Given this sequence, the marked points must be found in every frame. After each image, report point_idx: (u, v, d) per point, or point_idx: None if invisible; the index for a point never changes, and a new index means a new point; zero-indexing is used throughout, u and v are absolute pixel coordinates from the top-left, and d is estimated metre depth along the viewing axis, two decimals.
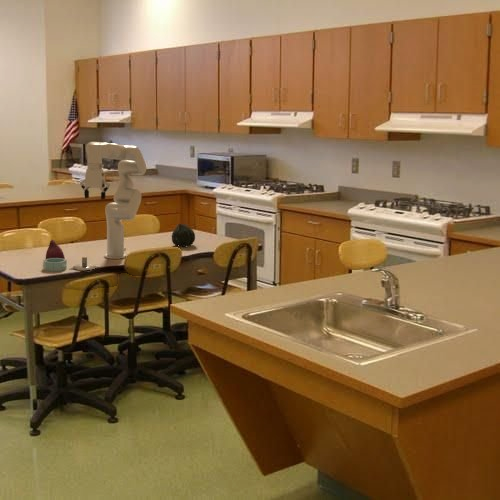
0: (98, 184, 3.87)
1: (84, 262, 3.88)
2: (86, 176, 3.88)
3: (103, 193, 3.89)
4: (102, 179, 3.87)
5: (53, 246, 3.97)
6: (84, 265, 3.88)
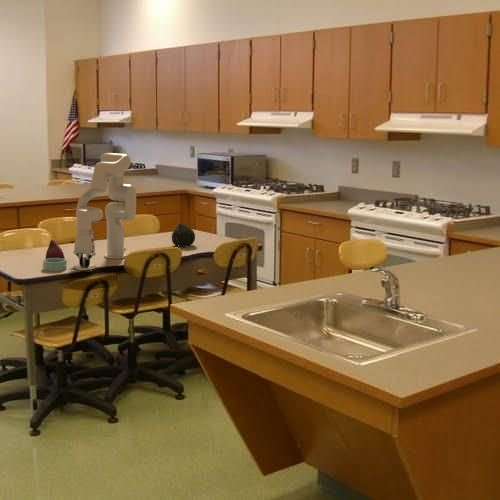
0: (88, 250, 3.84)
1: (84, 262, 3.88)
2: (75, 242, 3.86)
3: (87, 261, 3.87)
4: (92, 245, 3.85)
5: (53, 246, 3.97)
6: (84, 265, 3.88)
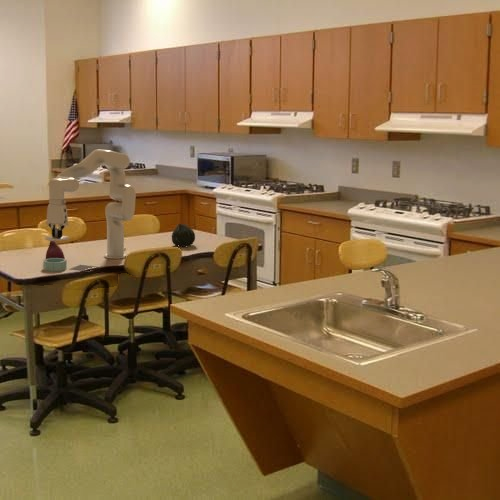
0: (60, 220, 3.77)
1: (56, 233, 3.81)
2: (48, 212, 3.79)
3: (60, 231, 3.80)
4: (64, 215, 3.78)
5: (53, 246, 3.97)
6: (56, 236, 3.81)
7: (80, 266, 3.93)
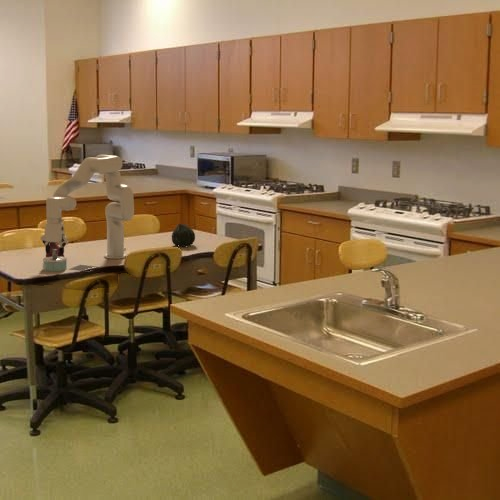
0: (57, 238, 3.79)
1: (54, 254, 3.83)
2: (45, 230, 3.80)
3: (61, 248, 3.81)
4: (62, 233, 3.79)
5: (53, 246, 3.97)
6: (54, 257, 3.83)
7: (80, 266, 3.93)
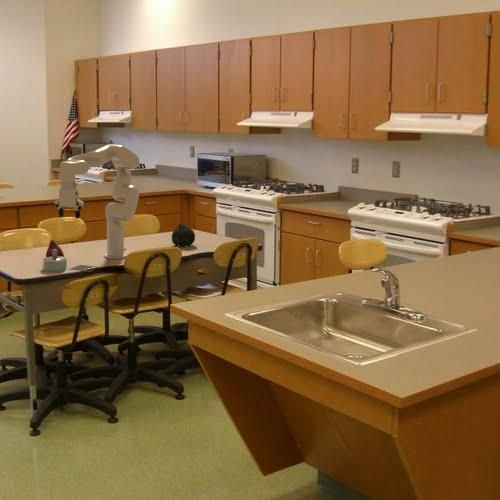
0: (72, 203, 3.81)
1: (54, 254, 3.83)
2: (60, 195, 3.82)
3: (77, 212, 3.83)
4: (76, 198, 3.81)
5: (53, 246, 3.97)
6: (54, 257, 3.83)
7: (80, 266, 3.93)
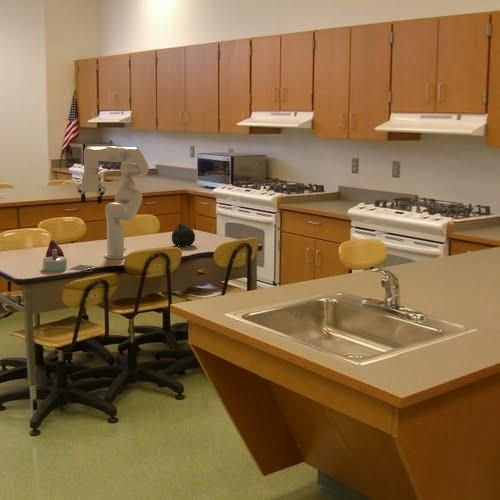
0: (95, 188, 3.88)
1: (54, 254, 3.83)
2: (83, 180, 3.89)
3: (100, 197, 3.89)
4: (99, 183, 3.88)
5: (53, 246, 3.97)
6: (54, 257, 3.83)
7: (80, 266, 3.93)
